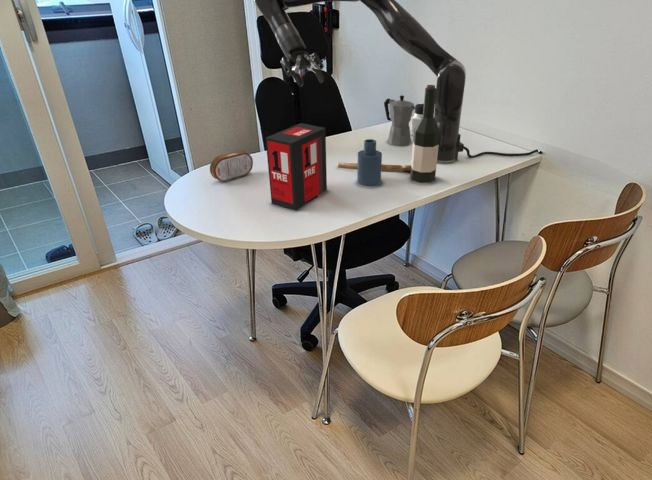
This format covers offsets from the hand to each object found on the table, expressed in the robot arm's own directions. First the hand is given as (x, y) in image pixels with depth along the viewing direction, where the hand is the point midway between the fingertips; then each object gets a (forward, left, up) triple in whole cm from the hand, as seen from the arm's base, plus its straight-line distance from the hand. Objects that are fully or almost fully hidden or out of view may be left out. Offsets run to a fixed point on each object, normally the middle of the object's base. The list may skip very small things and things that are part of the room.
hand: (312, 83), depth 165 cm
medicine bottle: (-49, -17, -26) cm, 58 cm away
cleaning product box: (+12, +32, -26) cm, 43 cm away
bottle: (-12, +27, -26) cm, 39 cm away
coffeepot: (-36, -10, -26) cm, 46 cm away
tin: (+30, +11, -26) cm, 41 cm away
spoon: (-5, +11, -25) cm, 28 cm away
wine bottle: (-30, +29, -26) cm, 49 cm away
